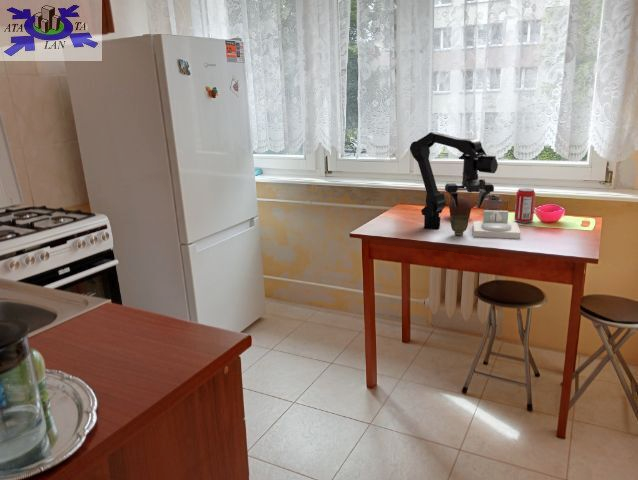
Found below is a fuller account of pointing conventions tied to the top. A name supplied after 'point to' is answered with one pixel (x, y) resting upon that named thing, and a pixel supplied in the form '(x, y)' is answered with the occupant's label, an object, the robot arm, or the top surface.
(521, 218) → the soda can
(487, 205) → the lighter
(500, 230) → the scale
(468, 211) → the muffin
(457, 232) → the ornate brown lamp shade
